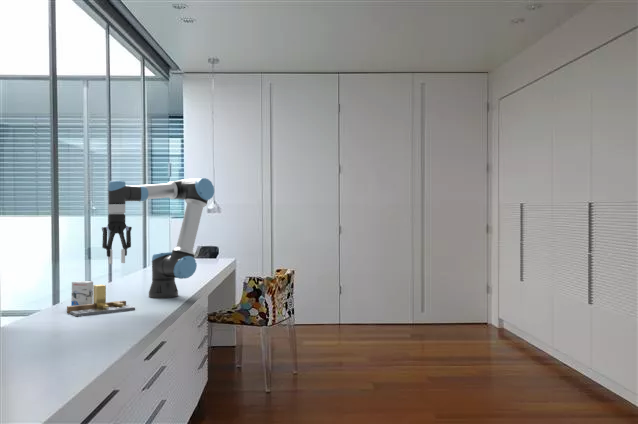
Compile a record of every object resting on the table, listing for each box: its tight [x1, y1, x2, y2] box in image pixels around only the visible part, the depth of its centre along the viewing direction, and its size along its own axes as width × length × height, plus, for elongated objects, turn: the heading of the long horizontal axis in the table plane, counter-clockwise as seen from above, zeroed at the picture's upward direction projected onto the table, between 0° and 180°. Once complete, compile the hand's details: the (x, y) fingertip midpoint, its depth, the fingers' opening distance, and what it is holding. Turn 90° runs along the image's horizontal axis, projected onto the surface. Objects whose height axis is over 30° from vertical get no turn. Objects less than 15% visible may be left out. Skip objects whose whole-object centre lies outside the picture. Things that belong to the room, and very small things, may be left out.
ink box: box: [70, 280, 94, 306], centre depth 276 cm, size 9×5×12 cm, turn 84°
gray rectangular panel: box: [69, 304, 136, 317], centre depth 261 cm, size 26×8×1 cm, turn 130°
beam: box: [66, 300, 127, 314], centre depth 264 cm, size 26×9×3 cm, turn 130°
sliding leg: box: [93, 284, 109, 309], centre depth 265 cm, size 4×10×11 cm, turn 40°
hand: (116, 263), depth 272 cm, fingers open, 5 cm apart
